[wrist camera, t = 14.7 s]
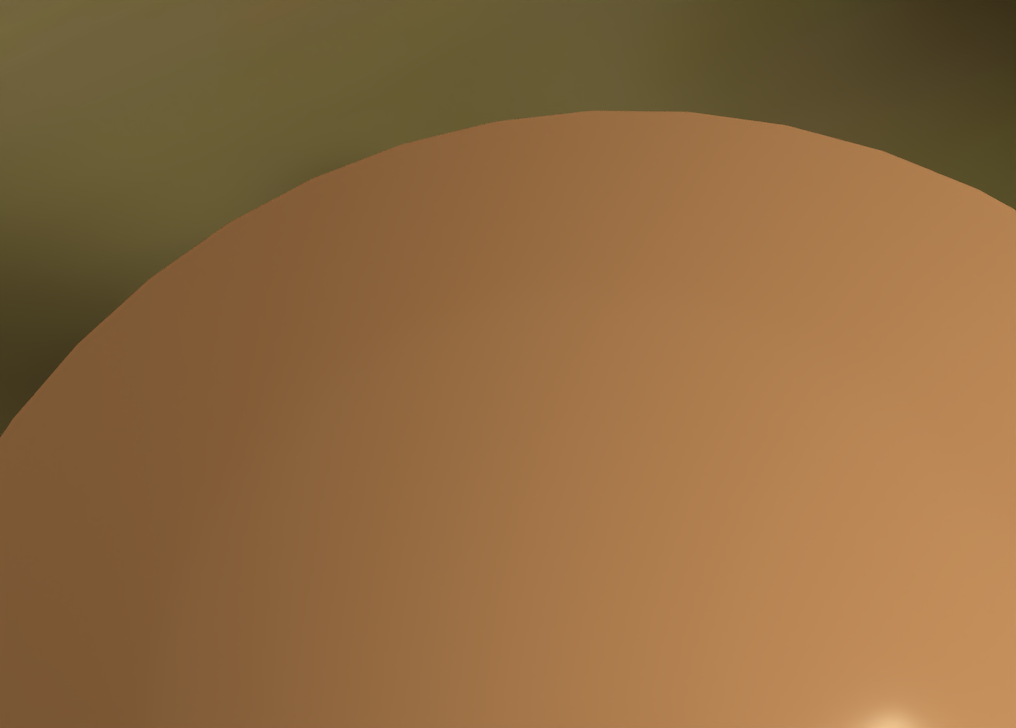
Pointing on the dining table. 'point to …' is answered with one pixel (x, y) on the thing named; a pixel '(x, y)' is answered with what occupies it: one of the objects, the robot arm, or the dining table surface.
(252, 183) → the dining table surface
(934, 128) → the dining table surface
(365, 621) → the tan upright cylinder
